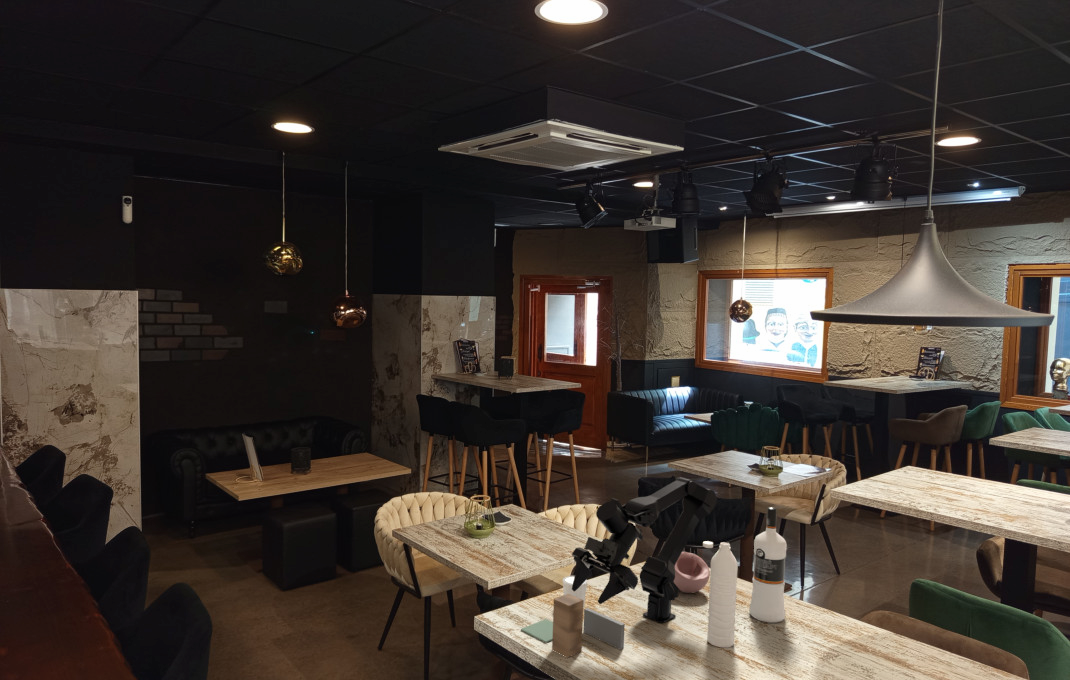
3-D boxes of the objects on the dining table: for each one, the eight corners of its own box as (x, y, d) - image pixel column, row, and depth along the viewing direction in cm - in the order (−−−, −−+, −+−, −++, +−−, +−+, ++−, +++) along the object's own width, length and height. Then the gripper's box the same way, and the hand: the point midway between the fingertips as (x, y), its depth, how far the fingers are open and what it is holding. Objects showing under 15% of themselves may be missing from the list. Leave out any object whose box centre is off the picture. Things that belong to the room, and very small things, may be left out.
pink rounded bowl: (682, 601, 201) (684, 562, 200) (659, 586, 212) (660, 548, 211) (717, 596, 205) (718, 557, 205) (692, 581, 216) (694, 544, 216)
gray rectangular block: (586, 630, 180) (587, 607, 180) (623, 648, 172) (624, 623, 172) (583, 632, 180) (584, 609, 179) (620, 649, 171) (621, 625, 171)
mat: (545, 620, 186) (546, 618, 186) (571, 632, 179) (571, 630, 179) (520, 630, 180) (520, 628, 180) (546, 643, 173) (546, 641, 173)
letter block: (566, 643, 173) (568, 593, 173) (582, 651, 170) (584, 599, 169) (552, 650, 170) (553, 598, 169) (567, 658, 166) (569, 605, 165)
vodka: (792, 621, 190) (797, 510, 189) (765, 626, 187) (770, 513, 186) (768, 607, 199) (773, 501, 198) (741, 612, 195) (746, 504, 194)
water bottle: (729, 636, 180) (734, 539, 179) (737, 648, 174) (742, 547, 173) (695, 635, 180) (699, 538, 179) (702, 647, 173) (706, 546, 172)
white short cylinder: (584, 611, 192) (585, 586, 192) (559, 608, 194) (560, 583, 193) (587, 601, 199) (588, 576, 199) (563, 598, 200) (564, 574, 200)
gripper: (578, 515, 183) (544, 566, 176) (632, 535, 168) (596, 591, 162) (599, 540, 188) (566, 590, 181) (652, 561, 173) (619, 616, 167)
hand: (585, 596), depth 173 cm, fingers open, 9 cm apart
